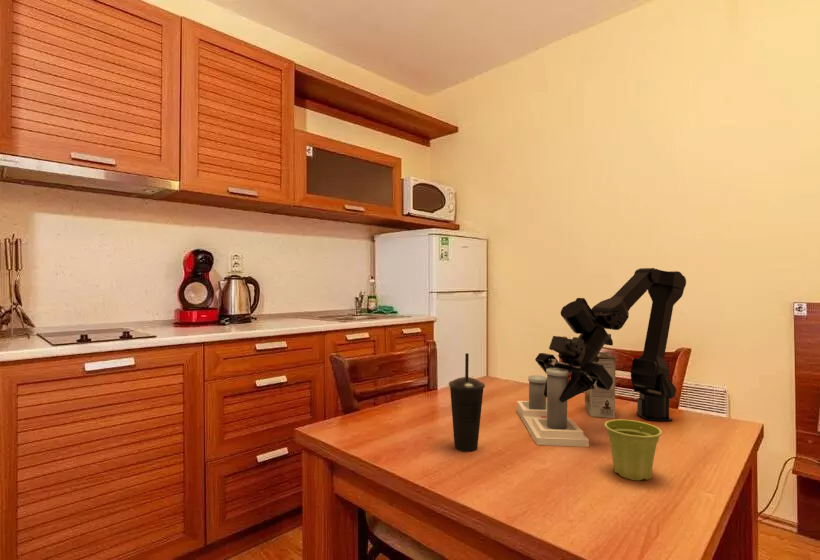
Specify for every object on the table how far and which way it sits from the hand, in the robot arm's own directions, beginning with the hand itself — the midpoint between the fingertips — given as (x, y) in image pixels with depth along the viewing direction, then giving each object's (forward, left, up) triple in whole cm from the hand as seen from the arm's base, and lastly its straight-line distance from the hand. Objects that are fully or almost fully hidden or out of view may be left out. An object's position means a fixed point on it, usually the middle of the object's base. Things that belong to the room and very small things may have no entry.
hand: (552, 398), depth 98 cm
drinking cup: (+20, +7, -9) cm, 23 cm away
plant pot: (-10, +17, -9) cm, 22 cm away
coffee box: (-18, -22, -9) cm, 30 cm away
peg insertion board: (-1, -8, -9) cm, 12 cm away
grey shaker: (-1, -1, -7) cm, 7 cm away
